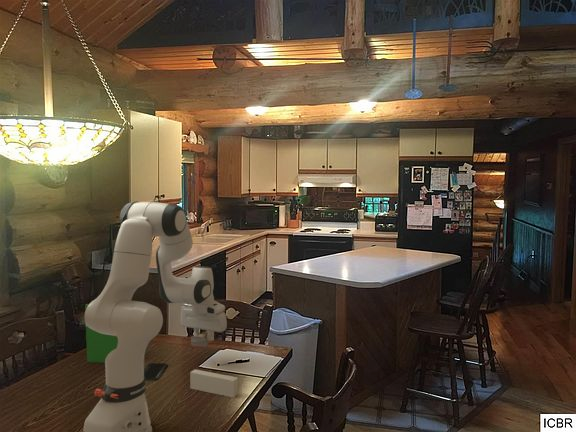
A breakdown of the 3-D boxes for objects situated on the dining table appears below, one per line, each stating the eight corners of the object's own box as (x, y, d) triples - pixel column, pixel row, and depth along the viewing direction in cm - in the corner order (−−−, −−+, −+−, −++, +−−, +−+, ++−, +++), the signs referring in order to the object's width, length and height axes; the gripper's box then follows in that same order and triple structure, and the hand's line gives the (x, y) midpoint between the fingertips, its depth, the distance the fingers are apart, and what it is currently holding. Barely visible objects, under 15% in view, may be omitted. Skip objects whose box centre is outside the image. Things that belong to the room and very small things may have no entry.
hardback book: (87, 361, 201) (85, 304, 199) (95, 355, 208) (93, 300, 206) (128, 363, 199) (126, 305, 197) (135, 356, 206) (134, 301, 204)
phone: (168, 363, 197) (156, 378, 182) (168, 366, 197) (156, 381, 182) (149, 363, 197) (136, 378, 182) (149, 365, 197) (136, 381, 182)
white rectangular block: (233, 397, 168) (233, 380, 167) (190, 388, 175) (190, 372, 174) (246, 387, 176) (246, 371, 175) (204, 379, 183) (204, 363, 183)
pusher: (205, 347, 191) (205, 337, 191) (191, 345, 194) (190, 335, 194) (218, 340, 200) (218, 330, 199) (204, 338, 202) (204, 328, 202)
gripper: (176, 304, 196) (177, 338, 197) (219, 310, 187) (220, 345, 189) (186, 301, 202) (186, 333, 203) (228, 306, 193) (229, 340, 194)
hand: (203, 339), depth 196 cm, fingers closed on pusher, 3 cm apart
